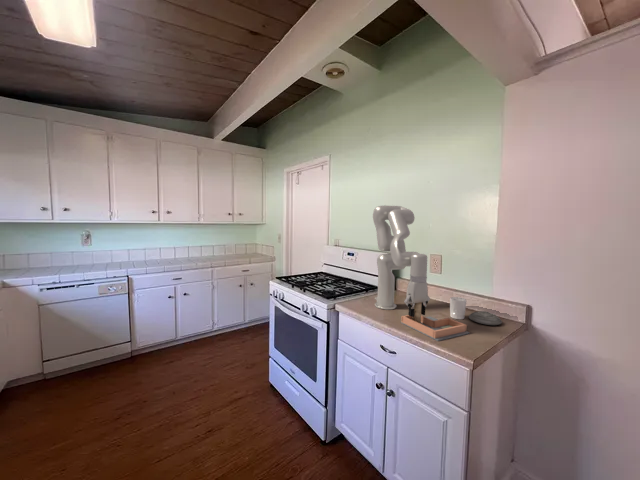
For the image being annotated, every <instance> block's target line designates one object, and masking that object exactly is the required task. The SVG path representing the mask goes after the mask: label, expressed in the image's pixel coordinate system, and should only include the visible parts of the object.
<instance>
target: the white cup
mask: <svg viewBox="0 0 640 480" xmlns="http://www.w3.org/2000/svg"><path fill="white" fill-rule="evenodd" d="M466 309H467V299H466V298H464V297H459V296H452V297H450V298H449V316H450V317H451V319H454V320H463V319H465V315H466ZM450 317H449V318H450Z"/></svg>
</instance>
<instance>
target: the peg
mask: <svg viewBox="0 0 640 480" xmlns="http://www.w3.org/2000/svg"><path fill="white" fill-rule="evenodd" d="M421 306H422V302H420V303H415V305H414V308H413V309H414V317H412V320H413V321H415V322H418V323H420V324H421V316H422V314H421Z"/></svg>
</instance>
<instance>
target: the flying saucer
mask: <svg viewBox="0 0 640 480" xmlns="http://www.w3.org/2000/svg"><path fill="white" fill-rule="evenodd" d="M468 319H470V321H473V322H475V323H477V324H482V325H487V326H497V325H502V323H503V320H502V319H501V318H500V317H499V316H497V315H496V314H494V313H491V312H490V311H485V310H481V311H474V312H471V313H470V314H469V315H468Z"/></svg>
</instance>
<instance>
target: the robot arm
mask: <svg viewBox="0 0 640 480" xmlns="http://www.w3.org/2000/svg"><path fill="white" fill-rule="evenodd" d="M415 219H416V218H415V214H414V212H413V210H411V209H410V208H407V207H404V206H401V205H386V204H385V205H378V206H376V207H374V210H373V213H372V220H373V224H374V226H375V232H376V239H377V247H378V250H379V251H380V252H390V253H381V254H380V255H378V256H377V258H376V266H377V274H378V276H377V277H378V278H377V296H375V297H374V300H376V302H375V303H374V306H375V308H377V309H380V310H381V309H382V310H387V311H388V310H389V311H390V310H394V309H397V304H396V303H395V281H396V280H395V275H394V274H393V271H394V270H397V271H398V270H404V269H405V268H406V267H410V274H409V281H408V284H407V288H406V298H405V299H404V301H403V302H404V303H405V305H406V306H407V308H408V315H409V316H411V317H414V309H413V308H414V305H415V303H420V302H422V306H421V316H425V315H426V308H427V304H429V301H430V300H431V297H430V296H429V291H428V290H429V288H428V282H427V280H428V255H427V254H424V253H420V252H419V251H418V252H417V251H406V250H407V249H406V242H405V240H406V239H407V238H408V237H410V234H411V232H410V229H409V226H408V225H412V224H413V223H414V222H415ZM388 221H389V223H388Z"/></svg>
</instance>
